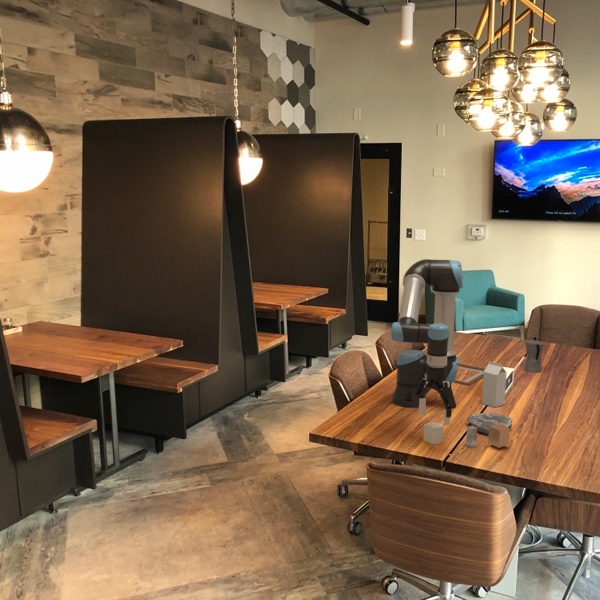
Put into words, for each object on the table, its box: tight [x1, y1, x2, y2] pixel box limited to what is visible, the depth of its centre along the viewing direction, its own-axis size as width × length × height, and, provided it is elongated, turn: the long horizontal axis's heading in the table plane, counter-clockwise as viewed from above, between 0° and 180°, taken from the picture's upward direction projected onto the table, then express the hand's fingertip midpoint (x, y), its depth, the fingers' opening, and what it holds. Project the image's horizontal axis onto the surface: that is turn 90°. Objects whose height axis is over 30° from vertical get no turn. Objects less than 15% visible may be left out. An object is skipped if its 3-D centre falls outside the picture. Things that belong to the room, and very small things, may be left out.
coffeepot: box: [523, 336, 545, 373], centre depth 349 cm, size 15×9×18 cm, turn 175°
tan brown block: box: [487, 424, 511, 449], centre depth 250 cm, size 5×5×8 cm
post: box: [465, 425, 478, 448], centre depth 251 cm, size 3×3×7 cm
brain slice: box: [466, 412, 514, 436], centre depth 270 cm, size 20×17×3 cm
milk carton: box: [481, 361, 507, 408], centre depth 296 cm, size 7×7×19 cm
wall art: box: [452, 363, 486, 387], centre depth 347 cm, size 31×2×38 cm
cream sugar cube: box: [422, 421, 445, 446], centre depth 254 cm, size 5×5×7 cm
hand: (434, 419), depth 253 cm, fingers open, 13 cm apart
